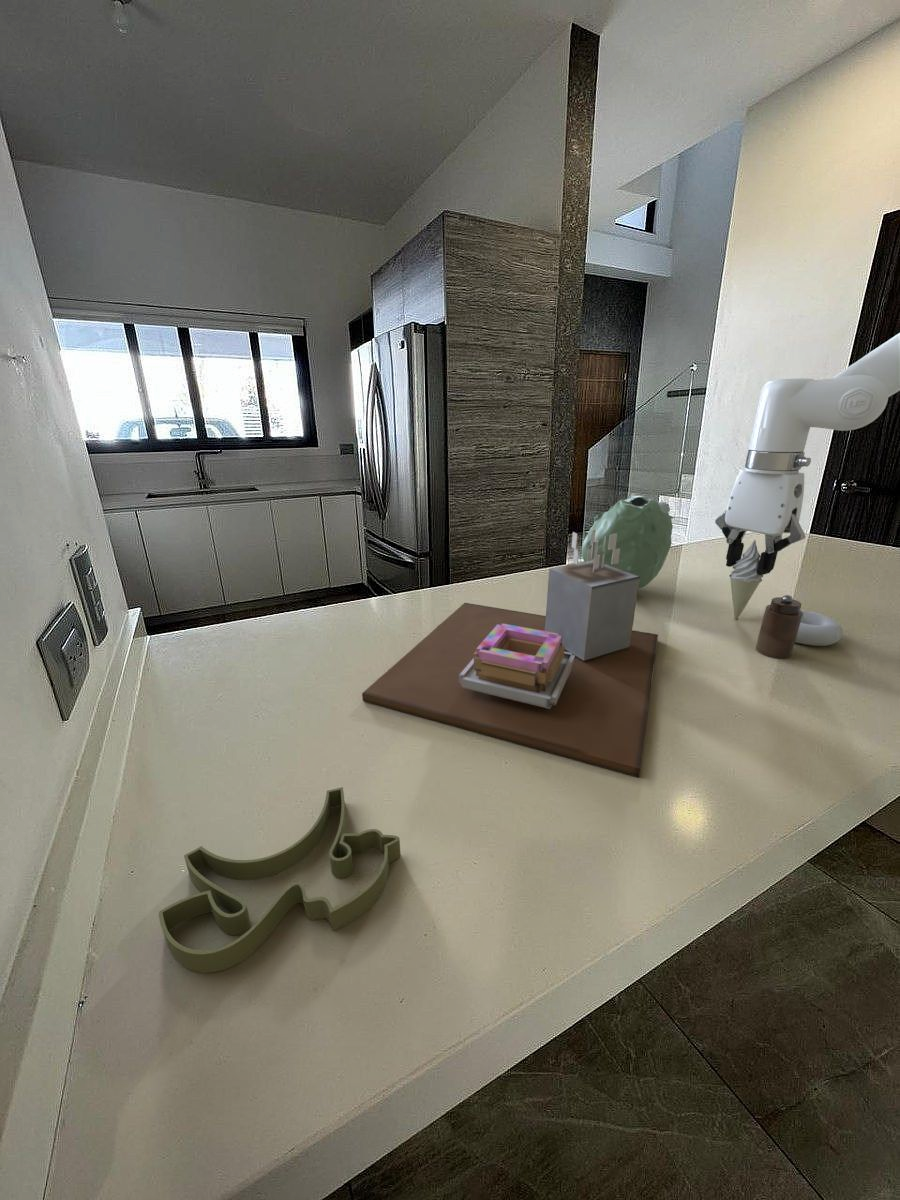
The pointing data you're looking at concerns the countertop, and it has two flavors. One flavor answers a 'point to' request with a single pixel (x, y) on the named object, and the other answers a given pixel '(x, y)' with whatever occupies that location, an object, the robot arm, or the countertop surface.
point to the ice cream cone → (745, 579)
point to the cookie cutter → (286, 900)
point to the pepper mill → (779, 627)
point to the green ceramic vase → (634, 536)
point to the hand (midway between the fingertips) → (747, 568)
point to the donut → (818, 630)
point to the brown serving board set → (540, 669)
